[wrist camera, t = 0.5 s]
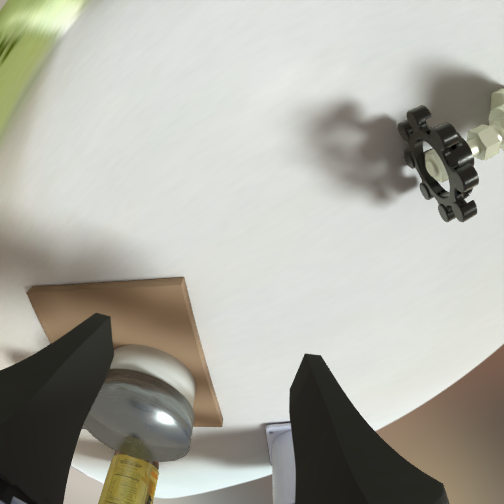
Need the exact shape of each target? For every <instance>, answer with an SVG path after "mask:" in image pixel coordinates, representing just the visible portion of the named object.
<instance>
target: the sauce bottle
mask: <svg viewBox="0 0 504 504" xmlns="http://www.w3.org/2000/svg"><path fill="white" fill-rule="evenodd" d="M158 469H159V464H158V462H156V461H148V460H142V459H138V458H134V457H131V456H128V455H125V454H123V453H120V452H118V451H116V452H115V455H114V456H113V459H112V461H111V464H110V467H109V470H108V473H107V476H106V480H105V483H104V487H103V490H102V493H101V496H100V500H99V503H98V504H153V499H154V494H155V489H156V484H157V480H158V475H159V472H158Z"/></svg>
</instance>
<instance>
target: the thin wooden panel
mask: <svg viewBox="0 0 504 504" xmlns="http://www.w3.org/2000/svg"><path fill="white" fill-rule="evenodd" d="M27 295H28V297H29V300H30V302H31V304H32V306H33V309H34V311H35V313H36V315H37V317H38V319H39V321H40V323H41V325H42V327H43V329H44V331H45V333H46V335H47V337H48V339H49V341H50V343H51V344H52V343H53V342H55V341H56V340H58V339H59V338H61V337H62V336H63V335H65V334H66V333H68V332H69V331H71V330H72V329H73V328H75V327H76V326H78V325H79V324H80V323H82V322H83V321H85V320H86V319H87V318H89V317H90V316H92V315H93V314H95V313H100V314H103V315H107V316H111V329H112V340H113V349H114V358H113V361H112V363H111V366H110V369H114V368H121V369H129V370H135V371H138V372H142V373H145V374H148V375H151V376H153V377H156V378H158V379H160V380H162V381H164V382H166V383H167V384H169V385H171V386H172V387H174V388H175V389H176V390H178V391H179V392H180V393H181V394H182V395H184V397H185V398H186V399H187V400H188V401H189V402H190V404H191V406H192V408H193V410H194V413H195V419H194V425H193V427H222V424H223V417H222V414H221V411H220V408H219V404H218V401H217V398H216V395H215V391H214V388H213V384H212V381H211V378H210V374H209V371H208V367H207V364H206V360H205V357H204V353H203V349H202V346H201V342H200V338H199V335H198V331H197V327H196V323H195V319H194V315H193V311H192V307H191V303H190V299H189V295H188V291H187V287H186V283H185V278H184V277H178V278H164V279H150V280H136V281H121V282H105V283H89V284H72V285H53V286H34V287H32V288H31V289H30V290H29V291H28V292H27Z"/></svg>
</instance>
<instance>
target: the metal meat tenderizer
mask: <svg viewBox="0 0 504 504" xmlns="http://www.w3.org/2000/svg"><path fill="white" fill-rule="evenodd" d="M194 419H195V413H194V410H193V408H192V406H191V404H190V402H189V401H188V400H187V399H186V398H185V397H184V395H182V394H181V393H180V392H179V391H178V390H176V389H175V388H174V387H172V386H171V385H169V384H167V383H166V382H164V381H162V380H160V379H158V378H156V377H153V376H151V375H148V374H145V373H142V372H138V371H135V370H129V369H121V368H114V369H109V372H108V375H107V377H106V379H105V381H104V383H103V385H102V387H101V389H100V391H99V393H98V395H97V397H96V399H95V401H94V403H93V405H92V407H91V409H90V411H89V413H88V416H87V418H86V420H85V422H84V424H83V427H82V429H87V430H88V431H89V432H90V433H91V434H92V435H93V436H94V437H95V438H96V439H98V440H99V441H101V442H102V443H104V444H105V445H107V446H108V447H110V448H112V449H114V450H116V451H118V452H120V453H123V454H125V455H128V456H131V457H134V458H138V459H142V460H148V461H156V462H166V461H174V460H177V459H180V458H182V457H184V456H185V455H186V454H187V453H188V451H189V448H190V442H191V436H192V430H193V425H194Z"/></svg>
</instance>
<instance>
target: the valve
mask: <svg viewBox="0 0 504 504" xmlns="http://www.w3.org/2000/svg"><path fill="white" fill-rule="evenodd" d="M429 117H431V113H430V112H429V110H428V109H427V108H426V107H425V106H423V105H421V106H418V107H416V108H414V109H411V110H409V111H408V112H407V120H404V121H402V122H400V123H398V131H399V133H400V135H401V137H402V138H403V139H404V140H406V141H408V143H409V146H410V150H408V151H406V152H404V158H405V160H406V163H407V164H408V166H409V167H410V168H412V169H413V168H416V169H417V171H418V173H419V175H420V177H421V179H422V183H420V190H421V193H422V195H423V196H424V198H425V199H427V200H430V199H432V198H433V197H435V199H436V200H437V201H438V204H439V206H438V210H439V213H440V215H441V217H442V219H443V220H444V221H445V222H449V221H451V220H453V219H455V218H457V219H458V220H459V221H460V222H464V221H466V220H468V219H470V218H471V217H473V216H475V215H476V214H477V207H476V204H475V202H474V200H472V201H470V202H469V203H467V202H466V201H465V200H464V199H465V198H467V197H468V196H469V195H470V194H471V192H472V189H473V187H475V186H476V185H478V183H479V178H478V174H477V172H476V170H475V168H474V167H473V166H474V157H476V158H478V159H481V160H487V159H489V158H491V157H492V156H494V155H496V154H498V153H499V149H500V148H502V150H504V88H501V89H499V90H497V91H494V92H492V93H491V112H490V114H489V125H483V124H482V125H480V126H478V127H475V128H473V129H471V130H469V131H468V136H467V141H465V140H464V139H463V138H462V137H461V136H460V134H459V133H458V132H457V131H456V130H455V128H454V127H453V126H452V125H451V124H450V123H448V122H445V123H443V124H441V125H439V126H437V127H435V128H431V127H429V126H427V124H426V120H425V119H427V118H429ZM423 140H425V141H426V142H427V143H429V144H430V145H431V146H432V147H433V149H429V150H427V151H425V152H423ZM448 179H449V183H450V193H449V192H447V191H446V190H444V189H443V188H442V187H441V186H440V184H439V183H438V182H437V181H439V182H444V181H446V180H448Z"/></svg>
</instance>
